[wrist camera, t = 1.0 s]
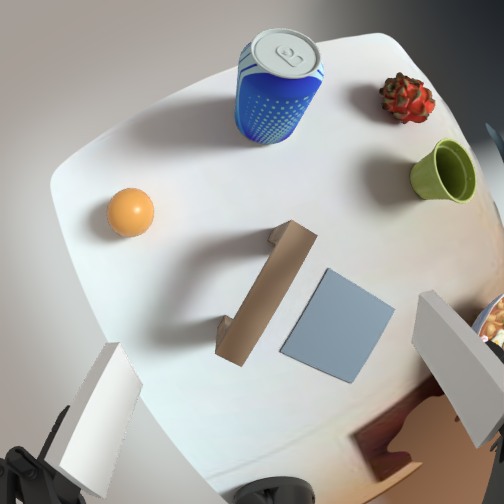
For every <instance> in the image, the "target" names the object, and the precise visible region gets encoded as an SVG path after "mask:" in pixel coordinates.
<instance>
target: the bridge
mask: <svg viewBox="0 0 504 504" xmlns="http://www.w3.org/2000/svg"><path fill="white" fill-rule="evenodd" d="M317 236H318V235H316V234H314V233H313V232H311V231H309V230H308V229H306V228H305V227H303V226H301V225H300V224H298V223H296V222H295V221H293V220H290V221H288V222H286V223H283V224H281V225H279V226H277V227H275V228H274V230H273V232H272V234H271V235H270V237H269V239H268V242H270V243H272V244H274V245H275V247H274V249H273V250H272V252H271V254H270V256H269V257H268V259H267V261H266V263H265V265H264V266H263V268H262V270H261V272H260V273H259V275H258V277H257V279H256V280H255V282H254V284H253V286H252V287H251V289H250V291H249V293H248V294H247V296H246V298H245V300H244V301H243V303H242V305H241V307H240V308H239V310H238V312H237V313H236V315H235V317H234V319H232V318H230V317H228V316H226V315H225V316H224V318H223V320H222V321H221V323H220V325H219V327H218V331H217V340H216V349H215V354H216V355H218V356H220V357H222V358H224V359H226V360H228V361H230V362H232V363H234V364H236V365H239V366H241V367H242V366H243V364H244V362H245V361H246V359H247V358H248V356H249V354H250V353H251V351H252V350H253V348H254V346H255V345H256V343H257V341H258V340H259V338H260V336H261V335H262V333H263V331H264V330H265V328H266V326H267V325H268V323H269V321H270V320H271V318H272V316H273V315H274V313H275V311H276V309H277V308H278V306H279V304H280V303H281V301H282V299H283V297H284V296H285V294H286V292H287V290H288V289H289V287H290V285H291V283H292V281H293V280H294V278H295V276H296V274H297V273H298V271H299V269H300V267H301V265H302V264H303V262H304V260H305V258H306V256H307V254H308V253H309V251H310V249H311V247H312V245H313V243H314V242H315V240H316V238H317Z"/></svg>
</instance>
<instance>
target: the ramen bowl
mask: <svg viewBox="0 0 504 504" xmlns="http://www.w3.org/2000/svg"><path fill="white" fill-rule="evenodd" d="M471 328H472V329H473V331H474V332H475V333H476V334H477V335H478V336H479V337H480V338H481V339H482V340H483V341H484V342H486V341H488V340H491V341H492V342H494V343H496V344H498V345H499V346H500V347H501V348H502V349H503V350H504V294H502V295H500V296H498V297H497V298H496V299H494V300H493V301H492V302H491V303H490V304H489V305H488V306H487V307H486V308H485V309H484V310H483V311H482V312H481V313H480V314H479V316H478V317H477V319H476V320H475V322H474V324H473V325H472V327H471Z"/></svg>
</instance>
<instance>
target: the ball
mask: <svg viewBox="0 0 504 504" xmlns="http://www.w3.org/2000/svg"><path fill="white" fill-rule="evenodd" d="M107 218H108V222H109V224H110V226H111V228H112V229H113V230H114V231H115V232H116V233H118V234H119V235H121V236H124V237H135V236H138V235H141V234H142V233H144V232H145V231H146V230H147V229H148V228H149V227H150V225H151V223H152V221H153V218H154V206H153V203H152V201H151V199H150V197H149V196H148V195H147V194H146V193H145V192H143V191H141V190H139V189H136V188H127V189H123V190H121V191H119V192H118V193H116V194H115V195H114V196H113V198H112V199H111V201H110V202H109V205H108V209H107Z"/></svg>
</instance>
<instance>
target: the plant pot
mask: <svg viewBox="0 0 504 504" xmlns="http://www.w3.org/2000/svg"><path fill="white" fill-rule="evenodd" d="M410 180H411V185H412V187H413V189H414V191H415V192H416V193H417V194H418V195H419V196H420V197H421V198H423V199H427V200H428V199H449V200H452V201H455V202H457V203H467V202H469V201H470V200H471V199H472V198H473V196H474V194H475V191H476V183H477V180H476V172H475V168H474V165H473V162H472V160H471V158H470V156H469V154H468V153H467V151H466V150H465V149H464V147H463V146H462V145H460V144H459V143H458V142H457V141H455V140H453V139H449V138H445V139H442V140H440V141H439V142H438V143H437V144H436V146H435V148H434V149H433V151H432V152H431V153H430V154H428V155H427V156H426V157H425V158H423V159H422V160H421V161H419V162H418V163H417V164H415V165H414V167H413V168H412V170H411V173H410Z"/></svg>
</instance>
